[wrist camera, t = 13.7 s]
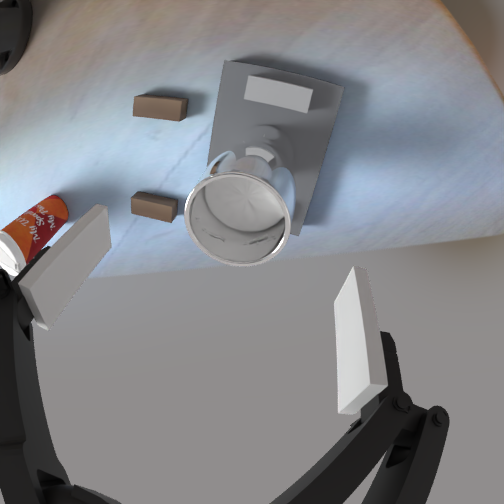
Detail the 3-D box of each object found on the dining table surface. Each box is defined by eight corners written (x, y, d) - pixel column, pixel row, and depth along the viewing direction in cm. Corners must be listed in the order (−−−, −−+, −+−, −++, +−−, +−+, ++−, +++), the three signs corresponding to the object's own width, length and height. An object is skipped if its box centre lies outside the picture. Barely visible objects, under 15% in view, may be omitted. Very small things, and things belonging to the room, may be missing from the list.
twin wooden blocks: (142, 94, 29) (134, 96, 28) (188, 98, 29) (181, 101, 28) (138, 206, 39) (131, 213, 37) (176, 215, 39) (171, 222, 37)
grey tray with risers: (230, 60, 26) (219, 59, 23) (341, 86, 26) (347, 88, 22) (207, 203, 37) (196, 220, 33) (299, 225, 37) (298, 245, 33)
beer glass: (311, 159, 29) (317, 236, 17) (260, 194, 32) (232, 284, 20) (269, 107, 27) (241, 143, 15) (219, 147, 30) (159, 213, 18)
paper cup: (75, 201, 40) (18, 253, 29) (71, 235, 44) (23, 287, 33) (43, 181, 39) (-14, 226, 27) (41, 215, 43) (-8, 261, 32)
